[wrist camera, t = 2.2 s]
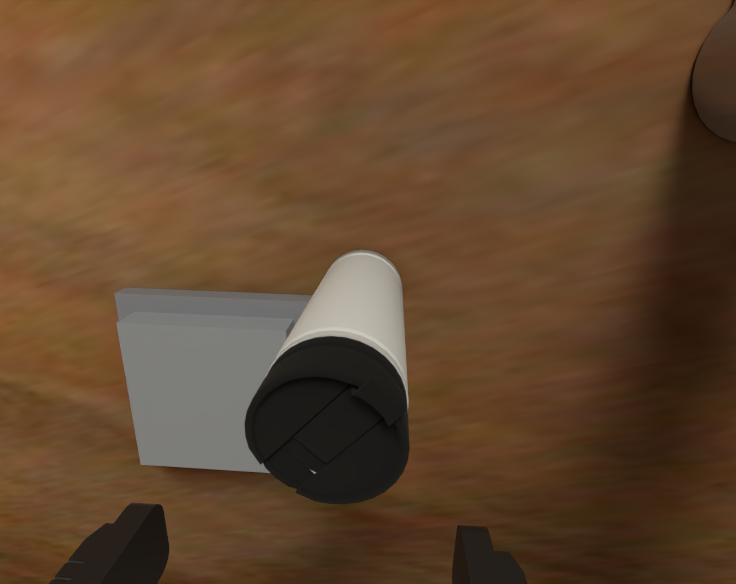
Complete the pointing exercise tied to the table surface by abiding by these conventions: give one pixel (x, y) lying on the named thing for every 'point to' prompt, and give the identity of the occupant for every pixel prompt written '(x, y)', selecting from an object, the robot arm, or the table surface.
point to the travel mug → (338, 388)
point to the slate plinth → (199, 369)
